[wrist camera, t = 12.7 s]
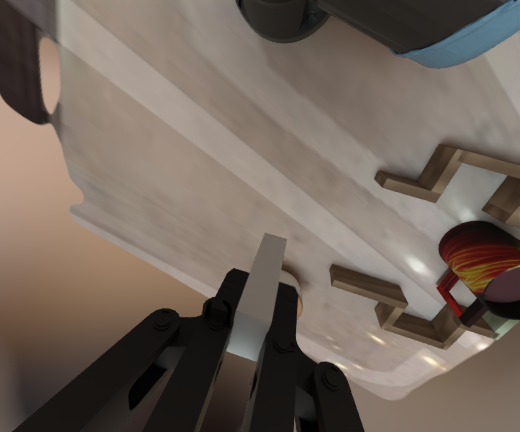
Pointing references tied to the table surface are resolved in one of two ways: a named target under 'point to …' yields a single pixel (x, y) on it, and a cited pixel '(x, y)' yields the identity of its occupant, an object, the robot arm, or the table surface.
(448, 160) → the trap lane
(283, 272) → the lidded jar
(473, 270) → the mug
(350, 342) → the table surface
